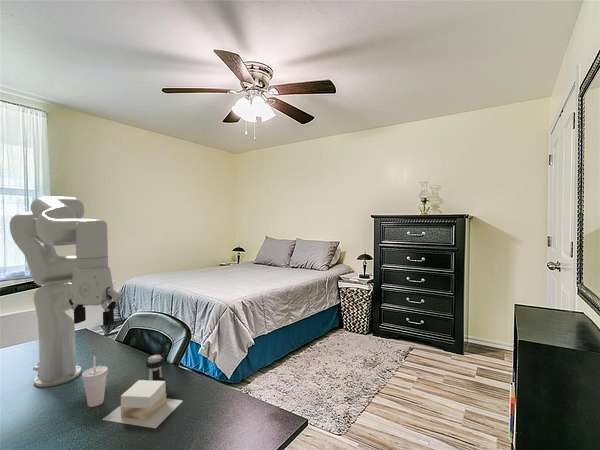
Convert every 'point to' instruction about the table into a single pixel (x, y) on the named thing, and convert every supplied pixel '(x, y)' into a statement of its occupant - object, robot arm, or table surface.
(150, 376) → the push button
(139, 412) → the bottom slab
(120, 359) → the table surface
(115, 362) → the table surface
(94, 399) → the smoothie
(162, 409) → the felt mat
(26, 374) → the table surface
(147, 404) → the top slab
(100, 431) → the table surface
